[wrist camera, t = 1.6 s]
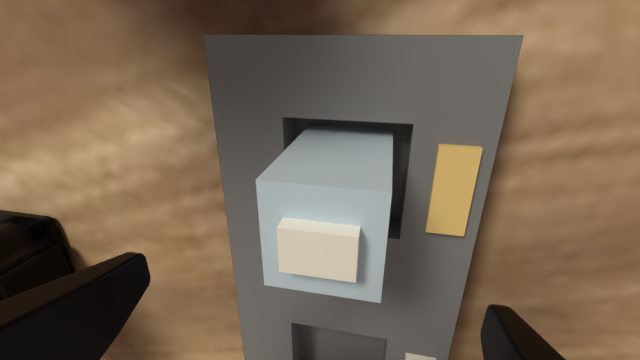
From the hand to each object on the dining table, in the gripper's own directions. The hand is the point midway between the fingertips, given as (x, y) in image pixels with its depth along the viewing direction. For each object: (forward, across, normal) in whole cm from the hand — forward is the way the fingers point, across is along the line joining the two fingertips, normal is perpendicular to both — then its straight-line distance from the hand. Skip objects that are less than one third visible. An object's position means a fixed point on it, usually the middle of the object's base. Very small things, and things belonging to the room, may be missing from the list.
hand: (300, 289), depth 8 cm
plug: (+9, 0, 0) cm, 9 cm away
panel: (+10, 0, +6) cm, 11 cm away
